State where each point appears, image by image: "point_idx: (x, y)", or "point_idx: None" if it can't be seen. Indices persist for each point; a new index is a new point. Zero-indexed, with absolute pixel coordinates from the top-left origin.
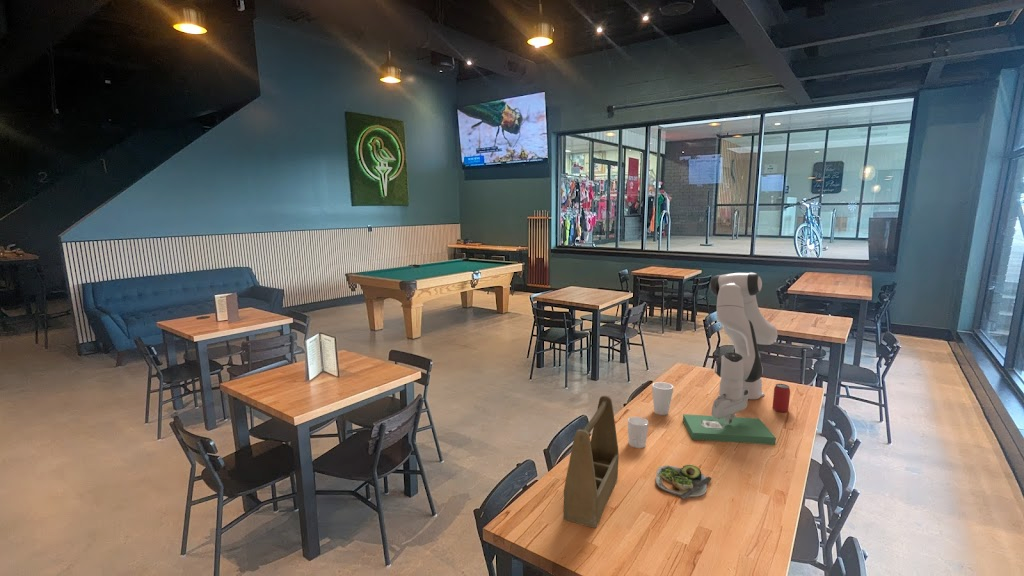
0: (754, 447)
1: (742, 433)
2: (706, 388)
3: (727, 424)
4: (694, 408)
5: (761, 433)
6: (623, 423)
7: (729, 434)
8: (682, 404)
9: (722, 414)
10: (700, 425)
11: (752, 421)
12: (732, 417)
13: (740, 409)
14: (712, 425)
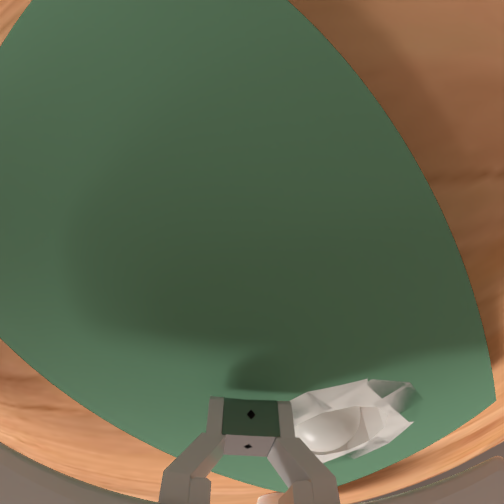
0: (394, 38)
1: (367, 208)
2: (7, 440)
3: (243, 395)
4: (140, 470)
5: (139, 24)
6: (428, 474)
7: (463, 292)
8: (155, 486)
9: (492, 499)
10: (397, 441)
11: None
12: (211, 453)
13: (54, 495)
14: (357, 427)
